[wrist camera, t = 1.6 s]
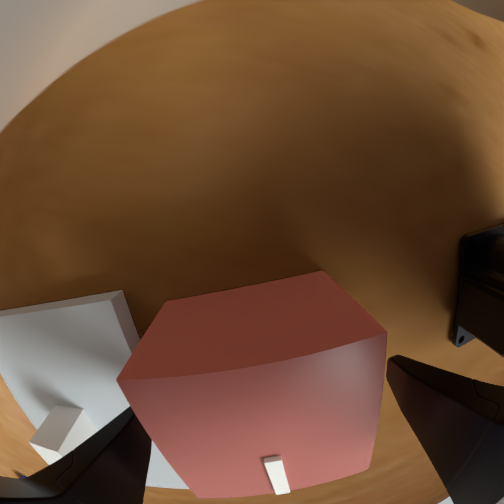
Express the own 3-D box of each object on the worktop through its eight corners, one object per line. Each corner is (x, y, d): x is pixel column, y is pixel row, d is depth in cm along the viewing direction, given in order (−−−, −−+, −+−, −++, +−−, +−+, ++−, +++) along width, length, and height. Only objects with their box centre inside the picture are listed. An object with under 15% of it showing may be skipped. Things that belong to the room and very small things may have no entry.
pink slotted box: (322, 270, 11) (390, 335, 5) (332, 389, 12) (370, 472, 6) (165, 301, 11) (113, 384, 5) (207, 412, 12) (197, 501, 6)
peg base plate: (122, 289, 10) (63, 343, 6) (211, 475, 13) (208, 530, 9) (-14, 312, 10) (-58, 341, 6) (77, 461, 13) (59, 498, 9)
